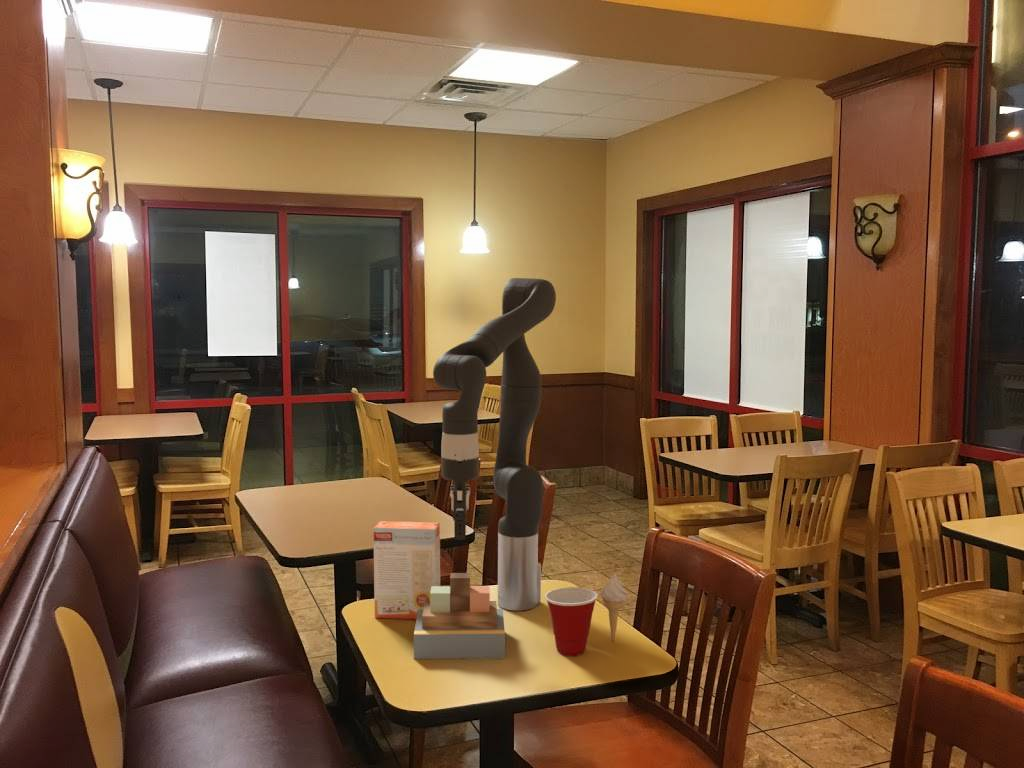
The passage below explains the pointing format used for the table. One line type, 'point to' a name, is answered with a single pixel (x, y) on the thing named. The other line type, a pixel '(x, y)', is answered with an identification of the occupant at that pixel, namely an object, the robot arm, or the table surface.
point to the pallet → (459, 619)
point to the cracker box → (405, 567)
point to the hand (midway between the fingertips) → (460, 532)
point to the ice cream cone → (613, 601)
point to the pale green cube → (440, 599)
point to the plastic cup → (571, 617)
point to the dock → (459, 641)
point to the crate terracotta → (479, 599)
